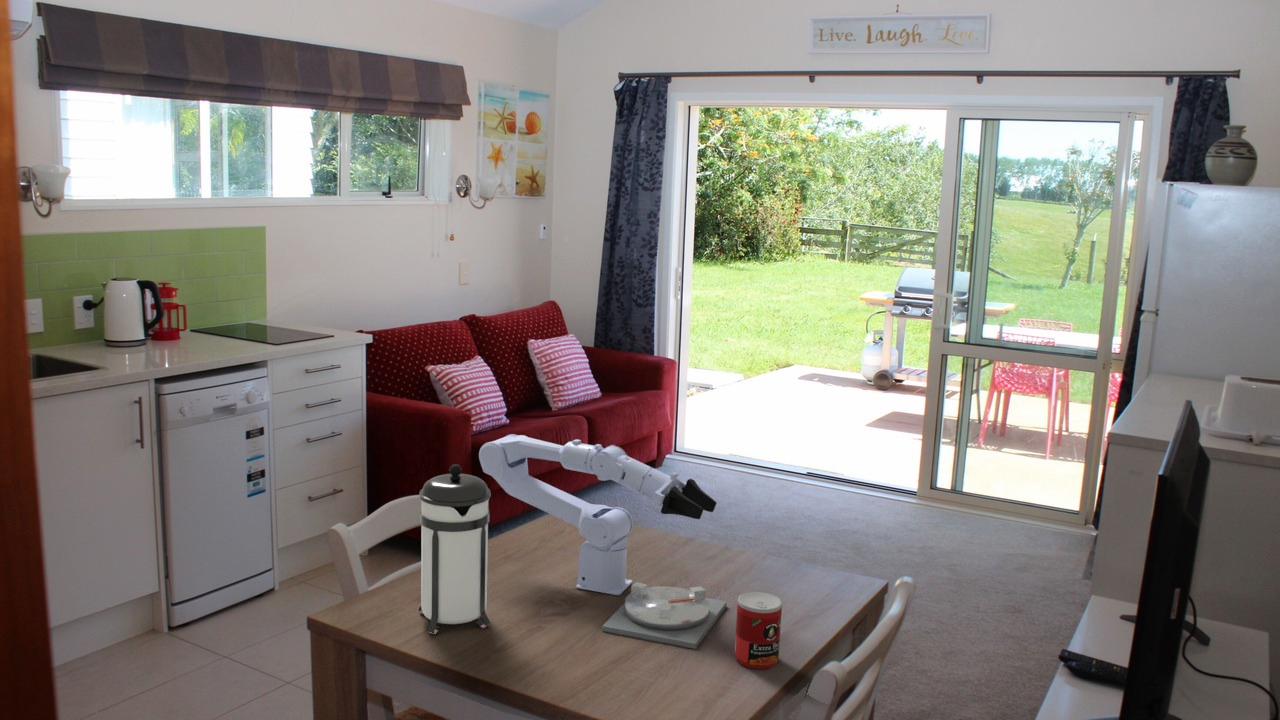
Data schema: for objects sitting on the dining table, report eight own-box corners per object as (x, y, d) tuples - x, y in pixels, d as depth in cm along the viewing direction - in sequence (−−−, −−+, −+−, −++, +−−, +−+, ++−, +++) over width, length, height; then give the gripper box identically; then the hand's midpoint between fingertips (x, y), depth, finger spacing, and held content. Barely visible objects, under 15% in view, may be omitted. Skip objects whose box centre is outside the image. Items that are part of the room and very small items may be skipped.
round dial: (612, 620, 192) (613, 601, 191) (641, 590, 207) (642, 572, 206) (694, 636, 186) (695, 616, 186) (718, 604, 201) (719, 585, 201)
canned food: (750, 673, 176) (754, 612, 174) (725, 654, 182) (728, 595, 181) (787, 665, 179) (791, 605, 177) (761, 646, 186) (765, 588, 184)
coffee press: (513, 613, 196) (516, 460, 191) (461, 644, 182) (462, 480, 177) (441, 594, 204) (442, 446, 199) (385, 622, 190) (385, 464, 185)
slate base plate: (602, 631, 190) (602, 624, 190) (640, 591, 209) (640, 585, 209) (695, 648, 184) (695, 642, 184) (726, 606, 203) (726, 600, 203)
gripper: (639, 468, 197) (702, 498, 192) (668, 458, 210) (727, 486, 205) (627, 501, 198) (689, 532, 193) (656, 489, 211) (714, 518, 207)
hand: (708, 510), depth 199 cm, fingers open, 7 cm apart
